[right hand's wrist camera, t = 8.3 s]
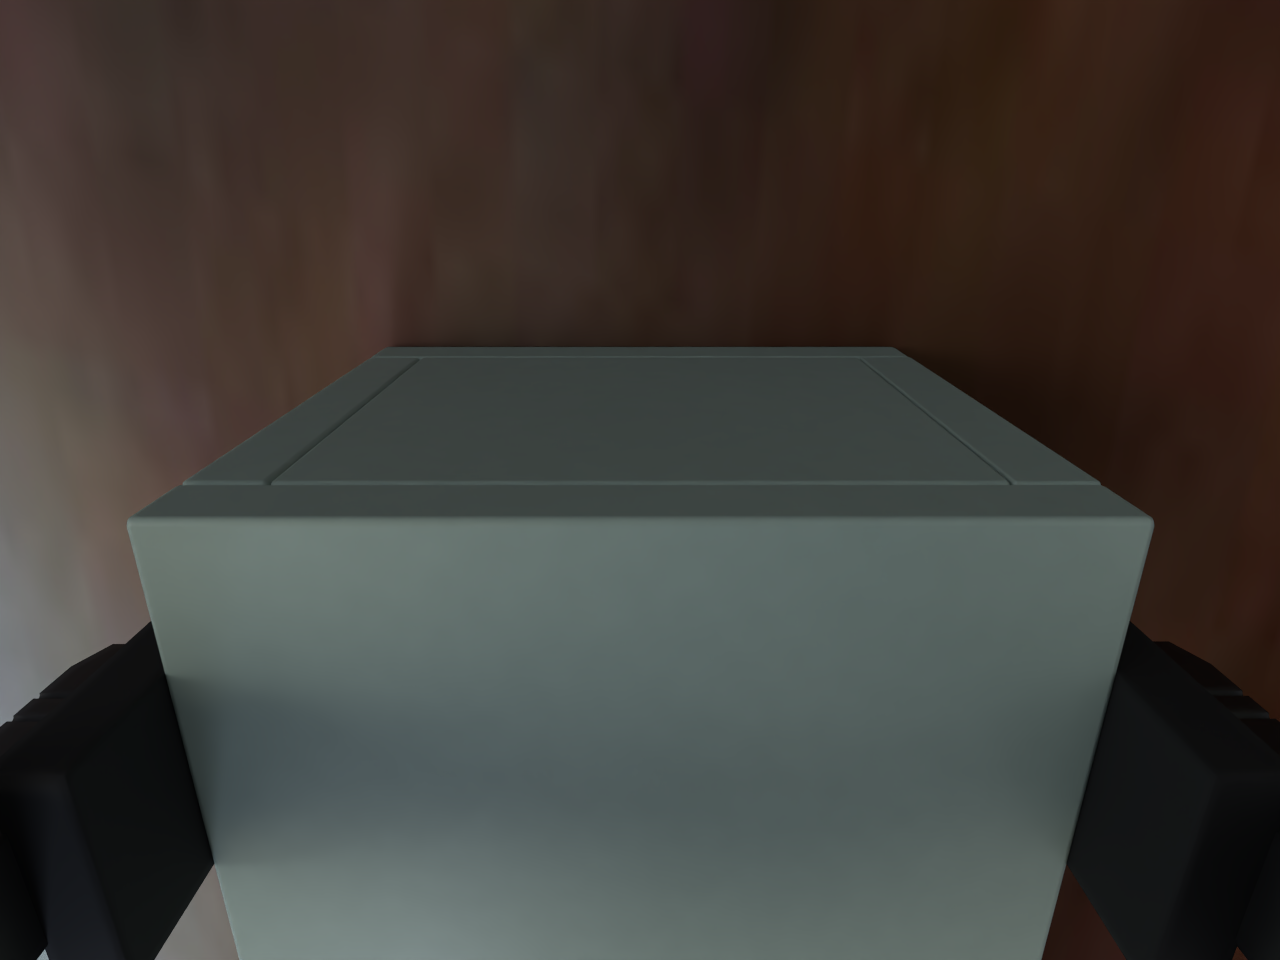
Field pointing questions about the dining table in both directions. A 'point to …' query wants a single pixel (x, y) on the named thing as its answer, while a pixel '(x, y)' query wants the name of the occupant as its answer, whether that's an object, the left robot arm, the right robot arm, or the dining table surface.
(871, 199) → the dining table surface
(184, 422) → the dining table surface
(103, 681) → the right robot arm
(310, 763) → the cabinet
